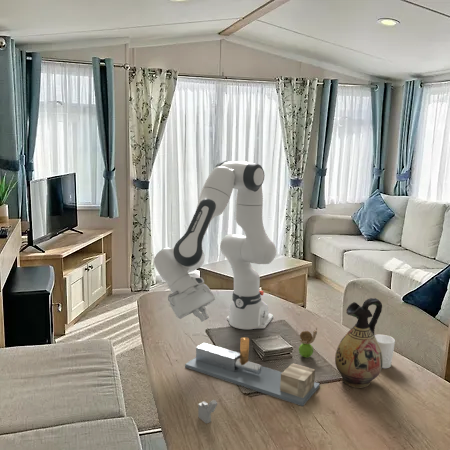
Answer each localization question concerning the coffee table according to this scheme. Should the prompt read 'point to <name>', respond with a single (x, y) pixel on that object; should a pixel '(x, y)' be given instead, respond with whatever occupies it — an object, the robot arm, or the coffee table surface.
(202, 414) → the lighter
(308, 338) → the snail figurine
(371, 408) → the coffee table surface
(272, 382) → the slate board
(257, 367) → the bolt with orange handle
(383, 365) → the white cup
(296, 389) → the birch socket
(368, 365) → the ceramic jug
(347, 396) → the coffee table surface
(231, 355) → the grey sleeve
